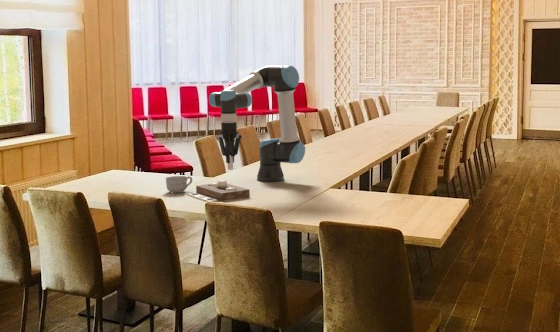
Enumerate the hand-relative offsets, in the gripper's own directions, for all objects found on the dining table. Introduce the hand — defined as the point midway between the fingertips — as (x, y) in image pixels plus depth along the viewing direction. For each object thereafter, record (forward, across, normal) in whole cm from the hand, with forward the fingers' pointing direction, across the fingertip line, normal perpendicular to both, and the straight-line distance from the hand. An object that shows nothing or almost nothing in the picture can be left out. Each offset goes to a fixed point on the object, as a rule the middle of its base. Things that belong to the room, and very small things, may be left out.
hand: (230, 169), depth 360 cm
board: (+14, 0, -8) cm, 16 cm away
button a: (+13, +1, -16) cm, 20 cm away
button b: (+10, 0, -8) cm, 13 cm away
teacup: (+15, +14, -30) cm, 36 cm away
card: (+14, +12, -8) cm, 20 cm away
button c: (+12, +1, 0) cm, 12 cm away
